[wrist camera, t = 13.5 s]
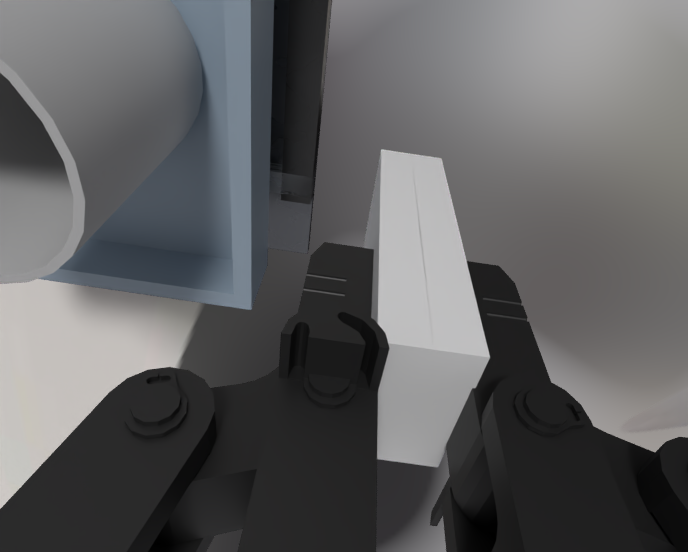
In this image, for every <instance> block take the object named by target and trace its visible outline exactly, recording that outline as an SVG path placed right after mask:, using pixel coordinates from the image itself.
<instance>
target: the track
mask: <svg viewBox="0 0 688 552" xmlns="http://www.w3.org/2000/svg"><path fill="white" fill-rule="evenodd" d="M331 6H332V0H274V25H273V65H272V104H271V144H270V184H269V223H268V248H271V249H278V250H285V251H291V252H298V253H305V254H307V253H308V250H309V241H310V231H311V220H312V208H313V199H314V187H315V177H316V165H317V156H318V145H319V134H320V124H321V113H322V101H323V92H324V80H325V70H326V59H327V49H328V38H329V28H330V16H331Z"/></svg>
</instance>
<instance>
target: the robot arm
mask: <svg viewBox="0 0 688 552" xmlns="http://www.w3.org/2000/svg"><path fill="white" fill-rule="evenodd" d="M279 361H280V362H279V367H277V368H276V369H275V370H273V371H272V372H271V373H269V374H268V375H266V376H264V377H261V378H259V379H257V380H255V381H250V382H247V383H242V384H236V385H229V386H222V387H214V388H210V387H209V386H208V384H207V383H206V382H205V380H204V379H202V378H201V377H199V376H197V375H196V374H194V373H192V372H190V371H188V370H182V369H177V368H171V367H167V368H159V369H151V370H147V371H144V372H142V373H139V374H137V375H134V376H132V377H130V378H127V379H126V380H125V381H123V382H122V383H121V384H120V385H118V386H117V387H116V388H114V389H113V390H112V391H111V392H109V393H108V395H107V396H106V397H105V398H104V399H103V400H102V401H101V402H100V403H99V404H98V405H97V406H96V407H95V408H94V410H93V411H92V412H91V413H90V414H89V415H88V416H87V417H86V418H85V419H84V420H83V421H82V422H81V423H80V425H79V426H78V427H77V428H76V429H75V430H74V431H73V432H72V433H71V434H70V435H69V436H68V437H67V438H66V439H65V441H64V442H63V443H62V444H61V445H60V446H59V447H58V448H57V449H56V450H55V451H54V452H53V453H52V454H51V456H50V457H49V458H48V459H47V460H46V461H45V462H44V463H43V464H42V465H41V466H40V467H39V468H38V469H37V471H36V472H35V473H34V474H33V475H32V476H31V477H30V478H29V479H28V480H27V481H26V482H25V483H24V484H23V485H22V487H21V488H20V489H19V490H18V491H17V492H16V493H15V494H14V495H13V496H12V497H11V498H10V499H9V500H8V502H7V503H6V504H5V505H4V506H3V507H2V508H1V509H0V552H206V551H207V549H208V547H209V545H210V543H211V542H212V540H213V538H214V536H215V535H218V534H222V533H227V532H231V531H236V530H240V529H243V531H242V535H241V540H240V544H239V548H238V552H376V507H377V500H376V499H377V459H381V460H388V461H395V462H403V463H410V464H417V465H425V466H432V467H438V466H439V464H440V462H441V460H442V458H443V456H444V454H445V452H446V450H447V457H448V465H449V474H450V477H449V479H448V481H447V483H446V485H445V487H444V489H443V490H442V492H441V494H440V496H439V498H438V500H437V502H436V504H435V506H434V508H433V510H432V514H431V522H430V525H432V526H437V525H438V523H439V521H440V519H441V518H442V516H443V519H444V530H445V541H446V551H447V552H688V438H685V437H678V438H675V439H672V440H669V441H667V442H665V443H664V444H663V445H662V446H661V447H660V448H659V449H658V450H657V451H656V452H655V453H654V452H652V451H650V450H647V449H645V448H642V447H640V446H637V445H635V444H632V443H630V442H627V441H625V440H622V439H620V438H618V437H615V436H613V435H610V434H608V433H606V432H603V431H602V430H599V429H598V428H596V427H594V426H593V425H592V423H591V420H590V419H589V417H588V416H587V414H586V412H585V411H584V409H583V408H582V406H581V404H579V403H578V402H577V401H576V400H575V399H574V398H573V397H572V396H571V395H570V394H569V393H568V392H567V391H565V390H564V389H562V388H560V387H558V386H557V385H555V384H553V383H551V381H550V378H549V376H548V373H547V370H546V367H545V364H544V362H543V359H542V356H541V353H540V351H539V348H538V346H537V343H536V340H535V337H534V334H533V332H532V329H531V326H530V323H529V322H527V315H526V312H525V310H524V307H523V306H521V299H520V296H519V293H518V291H517V288H516V285H515V283H514V282H513V281H512V280H511V279H510V278H509V276H508V275H507V274H506V273H505V272H504V271H503V270H502V269H501V268H500V267H499V266H496V265H489V264H482V263H475V262H469V261H466V257H465V253H464V250H463V245H462V241H461V237H460V233H459V229H458V224H457V220H456V216H455V212H454V208H453V204H452V200H451V196H450V192H449V188H448V184H447V180H446V176H445V171H444V167H443V163H442V159H441V158H435V157H429V156H422V155H415V154H409V153H402V152H395V151H389V150H381V154H380V158H379V164H378V169H377V175H376V180H375V186H374V192H373V197H372V202H371V208H370V213H369V219H368V224H367V229H366V235H365V241H364V248H360V247H354V246H347V245H340V244H333V243H326V242H325V243H323V244H322V245H321V246H320V247H319V248H318V249H317V250H316V251H315V252H314V253H313V254H312V255H311V258H310V263H309V266H308V271H307V276H306V279H305V284H304V289H303V293H302V297H301V302H300V306H299V310H298V313H297V314H296V315H294V316H293V317H292V318H290V319H289V320H288V322H287V324H286V325H285V327H284V329H283V331H282V332H281V344H280V360H279Z"/></svg>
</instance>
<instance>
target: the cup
mask: <svg viewBox="0 0 688 552" xmlns="http://www.w3.org/2000/svg"><path fill="white" fill-rule="evenodd" d="M202 94H203V83H202V67H201V62H200V59H199V56H198V52H197V49H196V46H195V43H194V39H193V36H192V34H191V33H190V31H189V29H188V27H187V25H186V24H185V22H184V20H183V18H182V16H181V14H180V13H179V11H178V9H177V8H176V6H175V5H174V4H173V3H172V2H171V1H170V0H0V284H7V283H22V282H30V281H32V280H35V279H38V278H41V277H43V276H46V275H49V274H52V273H54V272H55V271H56V270H57V269H59V268H60V267H61V266H62V265H63V264H64V263H65V262H66V261H68V260H69V259H70V258H71V257H72V256H73V255H74V254H75V253H76V252H77V251H78V250H79V249H80V248H81V247H82V246H83V245H84V244H85V242H86V241H87V240H88V239H89V238H90V237H91V236H92V235H93V234H94V233H95V232H96V231H97V230H98V229H99V228H100V227H101V226H102V225H103V224H104V222H105V221H106V220H107V219H108V218H109V217H110V216H111V215H112V214H113V213H114V212H115V211H116V210H117V209H118V208H119V207H120V206H121V205H122V203H123V202H124V201H125V200H126V199H127V198H128V197H129V196H130V195H131V194H132V193H133V192H134V191H135V190H136V189H137V188H138V187H139V186H140V185H141V183H142V182H143V181H144V180H145V179H146V178H147V177H148V176H149V175H150V174H151V173H152V172H153V171H154V170H155V169H156V168H157V167H158V166H159V164H160V163H161V162H162V161H163V160H164V159H165V158H166V157H167V156H168V155H169V154H170V153H171V152H172V151H173V150H174V149H175V148H176V147H177V146H178V144H179V143H180V142H181V141H182V140H183V139H184V138H185V136H186V135H187V133H188V132H189V130H190V128H191V127H192V125H193V123H194V121H195V119H196V117H197V116H198V114H199V109H200V104H201V99H202Z"/></svg>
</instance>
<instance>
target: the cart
mask: <svg viewBox="0 0 688 552" xmlns="http://www.w3.org/2000/svg"><path fill="white" fill-rule="evenodd" d="M170 1H171V2H172V3H173V4H174V5H175V6H176V8H177V9H178V11H179V13H180V14H181V16H182V18H183V20H184V22H185V24H186V25H187V27H188V29H189V31H190V33H191V34H192V36H193V39H194V43H195V46H196V49H197V52H198V56H199V59H200V62H201V67H202V83H203V94H202V99H201V104H200V109H199V114H198V116H197V117H196V119H195V121H194V123H193V125H192V127H191V128H190V130H189V132H188V133H187V135H186V136H185V138H184V139H183V140H182V141H181V142H180V143H179V144H178V146H177V147H176V148H175V149H174V150H173V151H172V152H171V153H170V154H169V155H168V156H167V157H166V158H165V159H164V160H163V161H162V162H161V163H160V164H159V166H158V167H157V168H156V169H155V170H154V171H153V172H152V173H151V174H150V175H149V176H148V177H147V178H146V179H145V180H144V181H143V182H142V183H141V185H140V186H139V187H138V188H137V189H136V190H135V191H134V192H133V193H132V194H131V195H130V196H129V197H128V198H127V199H126V200H125V201H124V202H123V203H122V205H121V206H120V207H119V208H118V209H117V210H116V211H115V212H114V213H113V214H112V215H111V216H110V217H109V218H108V219H107V220H106V221H105V222H104V224H103V225H102V226H101V227H100V228H99V229H98V230H97V231H96V232H95V233H94V234H93V235H92V236H91V237H90V238H89V239H88V240H87V241H86V242H85V244H84V245H83V246H82V247H81V248H80V249H79V250H78V251H77V252H76V253H75V254H74V255H73V256H72V257H71V258H70V259H69V260H68V261H66V262H65V263H64V264H63V265H62V266H61V267H60V268H59V269H57V270H56V271H55V272H54V273H52V274H49V275H46V276H43V277H41V278H38V279H43V280H50V281H57V282H63V283H70V284H77V285H84V286H91V287H98V288H104V289H111V290H118V291H125V292H132V293H138V294H145V295H152V296H159V297H166V298H172V299H179V300H186V301H193V302H200V303H207V304H214V305H220V306H227V307H235V308H241V309H248V310H252V307H253V304H254V301H255V298H256V295H257V293H258V290H259V287H260V285H261V281H262V279H263V276H264V273H265V270H266V268H267V261H268V223H269V184H270V144H271V104H272V65H273V25H274V0H170Z"/></svg>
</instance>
